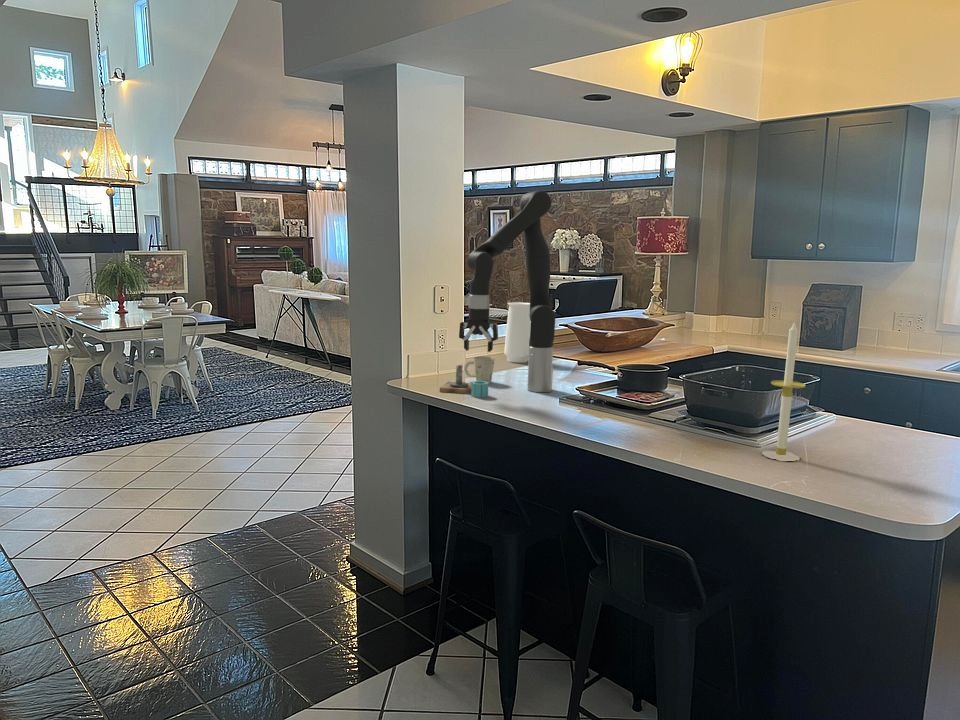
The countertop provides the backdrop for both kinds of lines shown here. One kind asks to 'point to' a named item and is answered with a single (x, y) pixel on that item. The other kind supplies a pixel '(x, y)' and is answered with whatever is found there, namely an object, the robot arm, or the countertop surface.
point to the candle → (787, 391)
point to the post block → (457, 384)
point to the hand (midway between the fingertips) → (478, 350)
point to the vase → (518, 332)
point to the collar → (479, 389)
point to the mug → (482, 368)
